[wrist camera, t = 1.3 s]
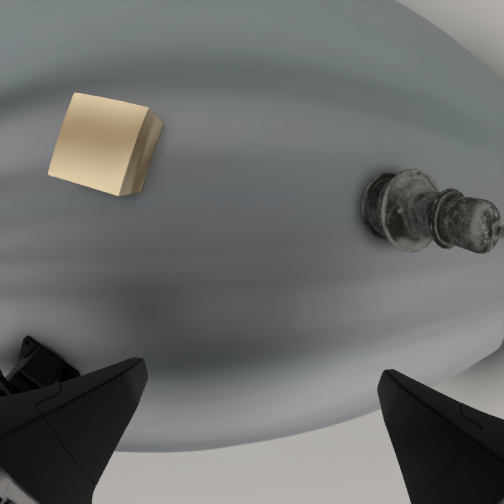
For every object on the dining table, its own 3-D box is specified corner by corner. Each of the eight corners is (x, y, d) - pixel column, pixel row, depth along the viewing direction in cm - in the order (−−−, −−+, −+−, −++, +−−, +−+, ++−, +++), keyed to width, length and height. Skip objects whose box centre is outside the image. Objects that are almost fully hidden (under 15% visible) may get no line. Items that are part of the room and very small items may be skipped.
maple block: (141, 192, 19) (118, 196, 14) (82, 174, 18) (47, 174, 14) (164, 124, 18) (148, 107, 14) (103, 109, 17) (74, 92, 13)
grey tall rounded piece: (425, 194, 22) (540, 214, 10) (396, 254, 23) (504, 307, 11) (378, 154, 20) (499, 146, 9) (344, 219, 21) (457, 261, 10)
